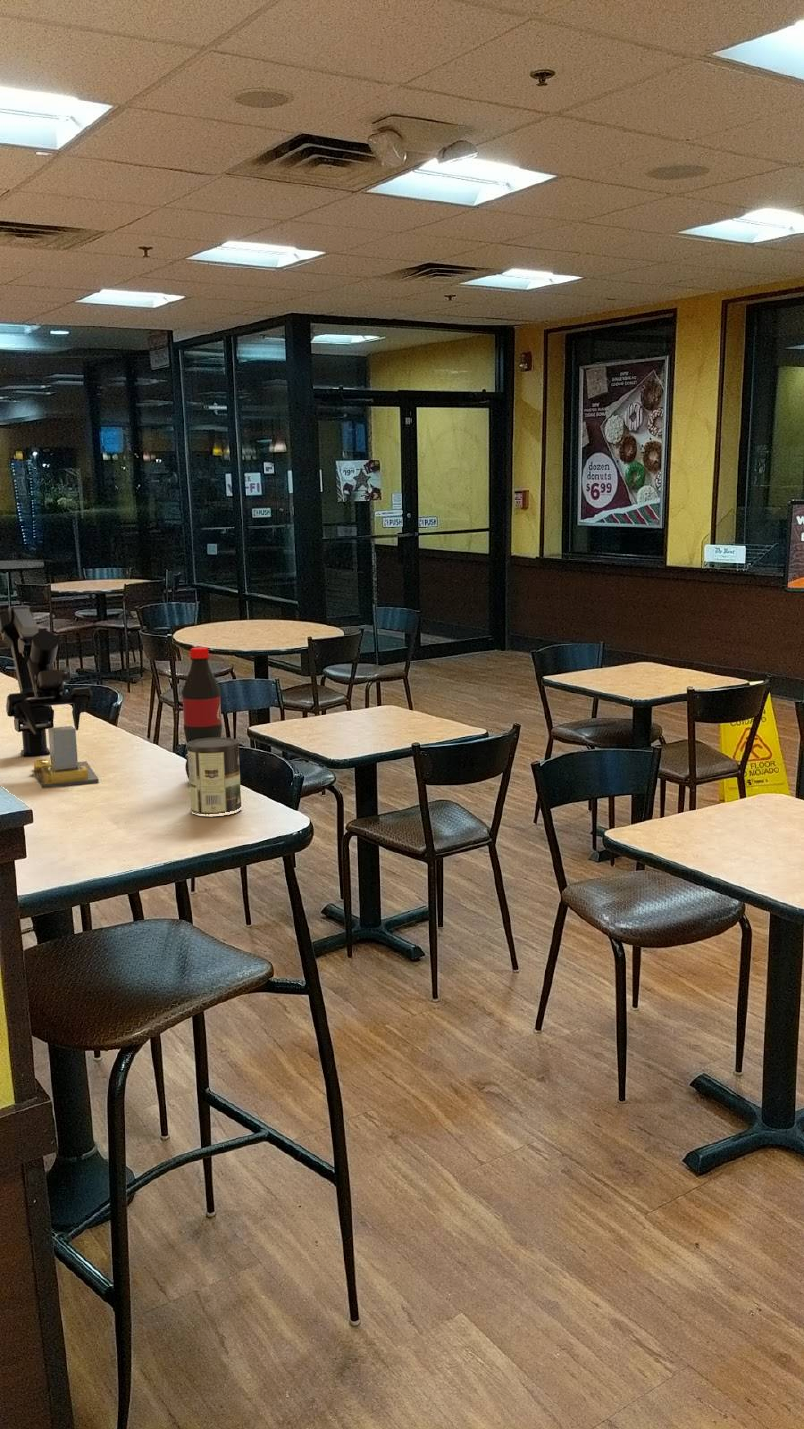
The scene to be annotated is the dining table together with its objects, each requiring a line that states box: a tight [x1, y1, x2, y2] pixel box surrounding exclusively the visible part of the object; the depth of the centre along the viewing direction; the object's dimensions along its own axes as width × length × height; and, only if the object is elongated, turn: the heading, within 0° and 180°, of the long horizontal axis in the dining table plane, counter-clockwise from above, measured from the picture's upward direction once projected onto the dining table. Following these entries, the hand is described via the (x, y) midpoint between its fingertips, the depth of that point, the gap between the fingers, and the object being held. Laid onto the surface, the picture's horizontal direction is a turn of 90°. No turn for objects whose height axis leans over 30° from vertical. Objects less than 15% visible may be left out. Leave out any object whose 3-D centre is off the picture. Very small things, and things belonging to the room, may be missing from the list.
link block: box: [47, 725, 79, 772], centre depth 244 cm, size 4×5×11 cm
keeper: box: [33, 758, 100, 789], centre depth 249 cm, size 20×12×3 cm, turn 23°
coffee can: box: [186, 736, 242, 815], centre depth 216 cm, size 10×10×14 cm
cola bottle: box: [181, 646, 223, 780], centre depth 240 cm, size 8×8×30 cm
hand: (56, 731), depth 248 cm, fingers open, 9 cm apart
